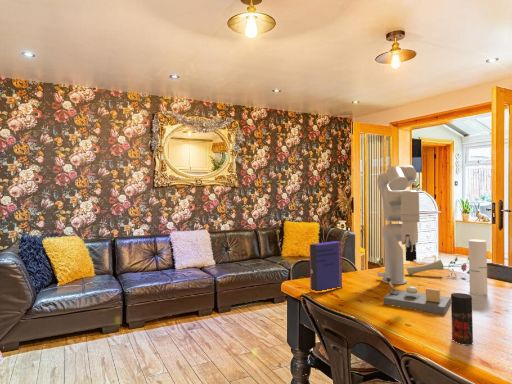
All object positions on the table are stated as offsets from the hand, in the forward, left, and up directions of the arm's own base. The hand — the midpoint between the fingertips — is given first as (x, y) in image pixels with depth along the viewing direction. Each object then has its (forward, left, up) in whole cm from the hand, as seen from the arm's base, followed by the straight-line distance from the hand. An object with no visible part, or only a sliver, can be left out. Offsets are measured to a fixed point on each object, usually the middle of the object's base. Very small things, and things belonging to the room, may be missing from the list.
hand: (411, 259), depth 155 cm
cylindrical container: (+22, +34, -19) cm, 45 cm away
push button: (0, 0, -14) cm, 14 cm away
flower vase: (+1, +61, -20) cm, 64 cm away
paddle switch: (+9, -3, -16) cm, 19 cm away
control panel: (+2, 0, -19) cm, 19 cm away
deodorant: (+23, -32, -19) cm, 44 cm away
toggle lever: (-8, 0, -15) cm, 17 cm away
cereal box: (-41, 0, -20) cm, 45 cm away
